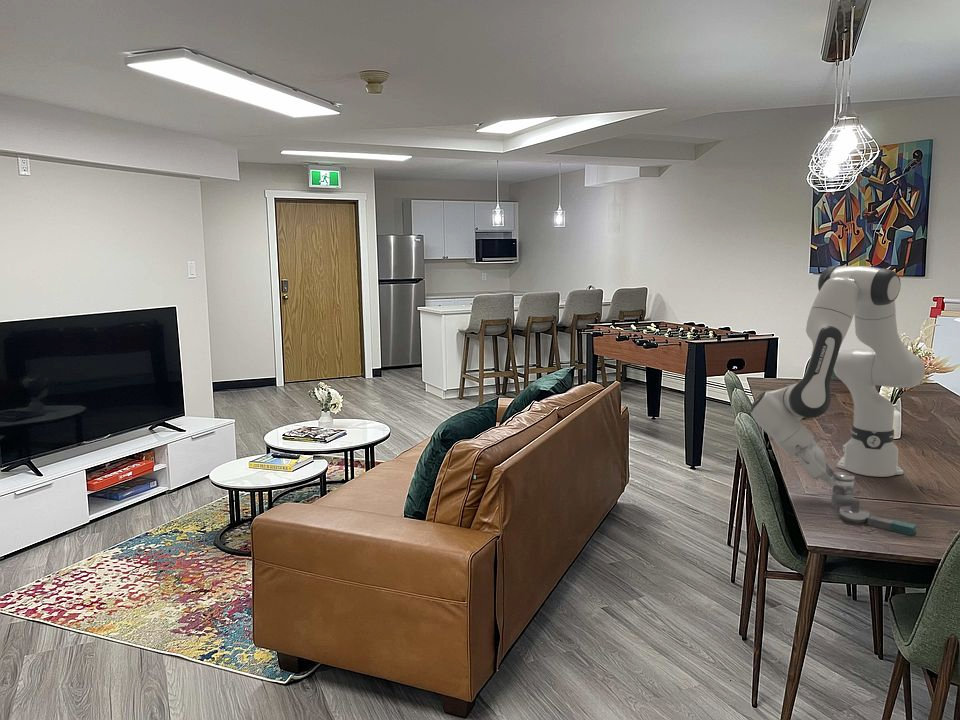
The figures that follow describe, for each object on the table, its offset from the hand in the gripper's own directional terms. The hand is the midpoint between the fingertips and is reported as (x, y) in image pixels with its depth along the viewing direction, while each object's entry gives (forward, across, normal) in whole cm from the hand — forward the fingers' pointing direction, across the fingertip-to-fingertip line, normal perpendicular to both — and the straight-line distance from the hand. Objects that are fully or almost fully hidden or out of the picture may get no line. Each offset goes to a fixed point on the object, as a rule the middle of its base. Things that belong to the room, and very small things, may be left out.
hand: (833, 479), depth 198 cm
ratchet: (+12, -12, -2) cm, 17 cm away
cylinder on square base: (+7, 0, +3) cm, 8 cm away
